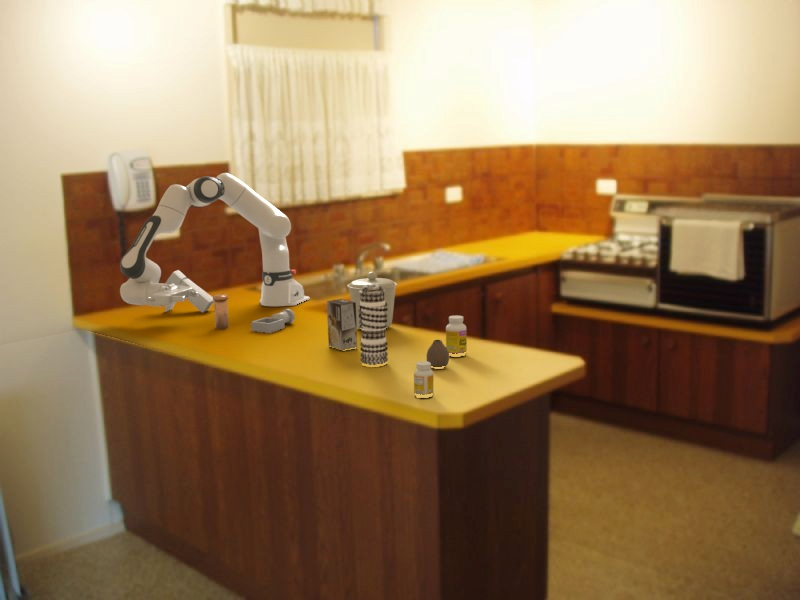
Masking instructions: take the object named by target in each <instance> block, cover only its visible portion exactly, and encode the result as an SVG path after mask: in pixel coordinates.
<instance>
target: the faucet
mask: <svg viewBox="0 0 800 600" xmlns="http://www.w3.org/2000/svg"><path fill="white" fill-rule="evenodd" d="M168 283H174V284H175V285H181V286H189V287H192V288H193V291H194V292H198V293H199V296H198V297H189V298H186V299H185V300H188V302H189V303H191V305H193V306H194V307H195V308H196V309H197V310H198V311H200V313H205V312H207V311H208V310H210V308H211V307H212V305H213V304H214V300H213V296H212V295H210V294H209V293H208V292H207V291H205V290H204V289H203V288H201V287H200V286H198V285H197V284H196V283H194V281H192V280H191V279H190V278H187V276H186V275H185V274H184V273H183V272H181V271H180V269H177V270H175V271H173V272H172V273H171V275H169V277H168V279H167V280H166V281H165V283H163V284H168ZM176 303H177V302H174V303H171V304H168V305H165V308H164V312H165V313H167V312H170V311H172V310H171V309H173V308H174V306H175V304H176ZM169 310H170V311H169Z"/></svg>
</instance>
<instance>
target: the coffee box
mask: <svg viewBox="0 0 800 600" xmlns="http://www.w3.org/2000/svg"><path fill="white" fill-rule="evenodd" d="M326 315H327V316H326V317H327V338H328V347H329V346H331V347H334V348H338V349H341V350H345V349H350V348H355V347H357V348H358V330H357V329H358V328H357V323H356V302H352V301H351V300H348V299H342V298H339V299H333V300H328V301H326Z"/></svg>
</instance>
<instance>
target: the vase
mask: <svg viewBox="0 0 800 600" xmlns="http://www.w3.org/2000/svg"><path fill="white" fill-rule="evenodd" d="M449 361H450V357H449V353H448V350H447V348H446V345H445V344H444V343H443V341H442V339H434V340H433V341H432V344H431V345H430V346H429V347H428V348H427V352H426V362H430V363H431V366H433V367H442V366H446V365H447V366H448V365H449ZM447 366H446V367H447Z"/></svg>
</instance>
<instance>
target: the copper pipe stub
mask: <svg viewBox="0 0 800 600" xmlns="http://www.w3.org/2000/svg"><path fill="white" fill-rule="evenodd" d="M212 297H213V300H214V302H213V304H214V306H213V307H214V320H215V321H214V322H215V324H214V325H215V329H217V330H226V328H227V329H229V328H230V327H229V325H230V324H229V309H228V300H229V295H228V294H215V295H213V296H212Z"/></svg>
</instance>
